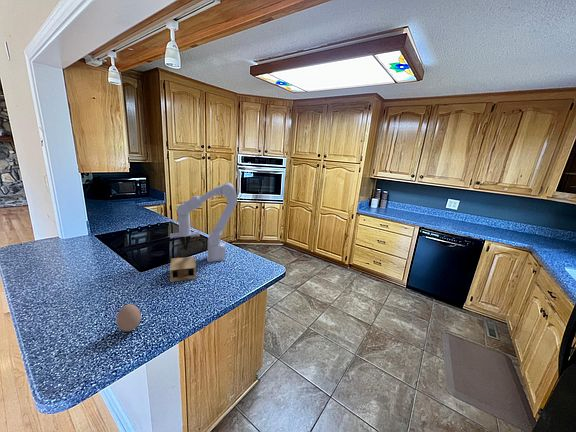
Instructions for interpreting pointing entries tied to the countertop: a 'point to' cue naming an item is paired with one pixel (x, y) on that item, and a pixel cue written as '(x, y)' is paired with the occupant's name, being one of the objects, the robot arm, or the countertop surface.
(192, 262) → the shelf
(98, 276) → the countertop surface
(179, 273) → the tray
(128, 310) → the egg
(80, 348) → the countertop surface
